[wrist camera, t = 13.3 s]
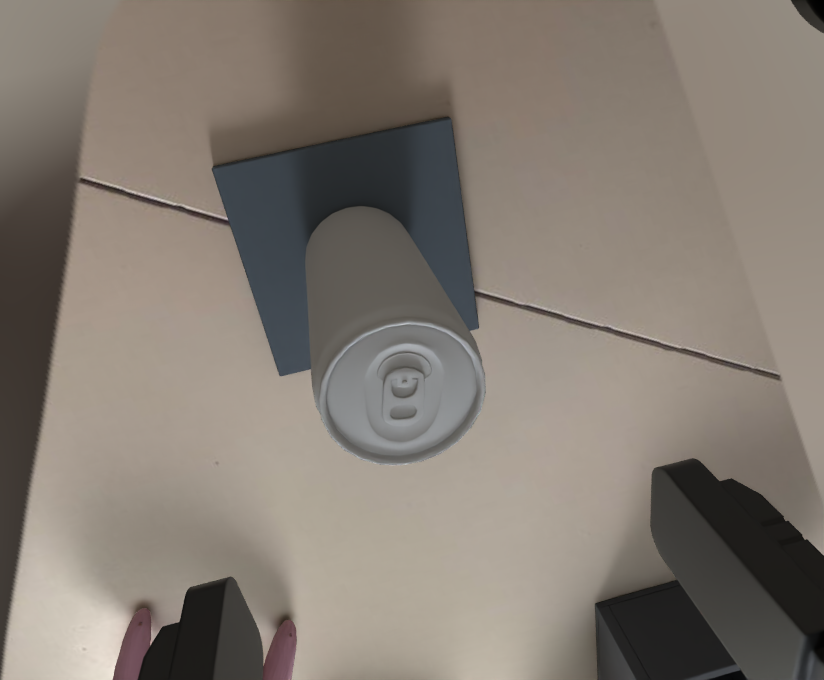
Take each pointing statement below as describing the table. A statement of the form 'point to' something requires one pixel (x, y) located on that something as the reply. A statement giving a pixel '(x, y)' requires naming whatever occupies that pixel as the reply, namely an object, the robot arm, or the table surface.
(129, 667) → the video game controller
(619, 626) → the bin
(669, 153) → the table surface
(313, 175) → the mat
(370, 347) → the beverage can
